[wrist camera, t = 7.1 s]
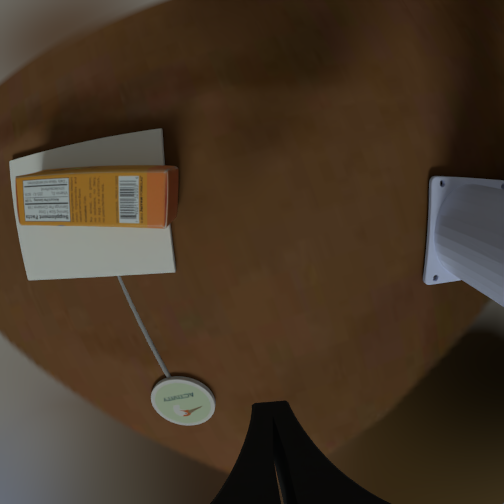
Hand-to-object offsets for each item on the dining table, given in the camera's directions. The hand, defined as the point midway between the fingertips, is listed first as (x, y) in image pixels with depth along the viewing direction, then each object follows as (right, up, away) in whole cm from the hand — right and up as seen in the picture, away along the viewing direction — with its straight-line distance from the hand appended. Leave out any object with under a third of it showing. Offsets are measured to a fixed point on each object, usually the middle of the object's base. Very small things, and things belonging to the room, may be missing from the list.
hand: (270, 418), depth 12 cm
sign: (-8, -1, +11) cm, 14 cm away
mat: (-12, +9, +7) cm, 17 cm away
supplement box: (-5, +10, +6) cm, 12 cm away
